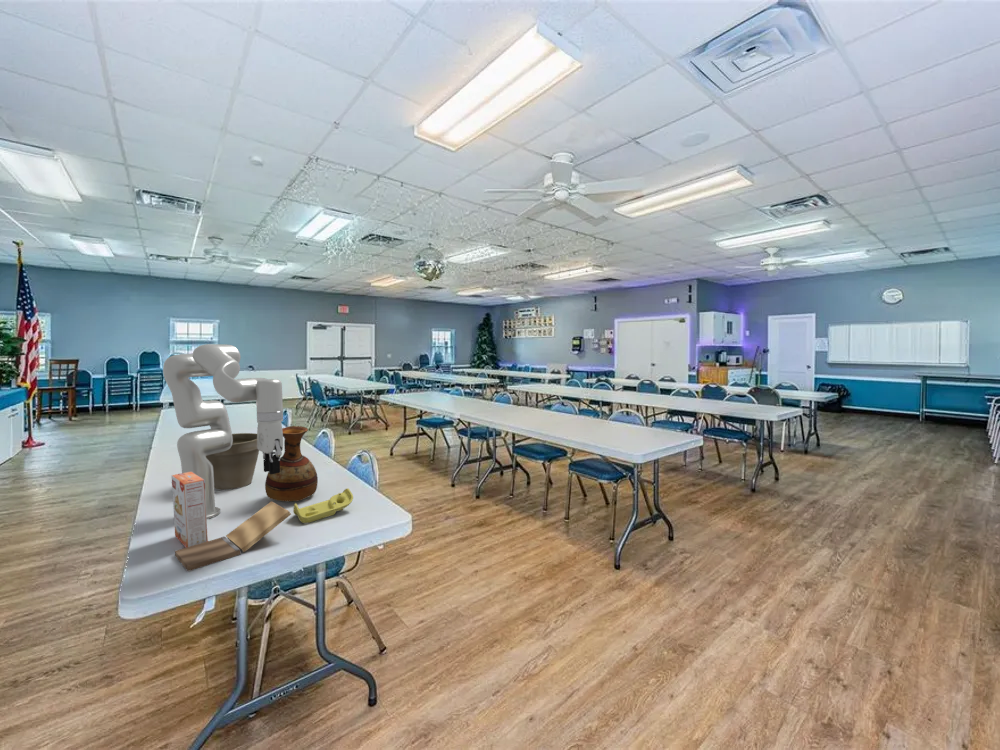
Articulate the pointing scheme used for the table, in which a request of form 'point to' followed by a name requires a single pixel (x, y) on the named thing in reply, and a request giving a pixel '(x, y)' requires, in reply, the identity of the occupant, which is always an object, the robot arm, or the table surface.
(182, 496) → the cracker box
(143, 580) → the table surface
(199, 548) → the walnut board
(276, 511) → the oak plank
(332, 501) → the plastic component
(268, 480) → the ceramic pitcher
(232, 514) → the table surface
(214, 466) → the plant pot
